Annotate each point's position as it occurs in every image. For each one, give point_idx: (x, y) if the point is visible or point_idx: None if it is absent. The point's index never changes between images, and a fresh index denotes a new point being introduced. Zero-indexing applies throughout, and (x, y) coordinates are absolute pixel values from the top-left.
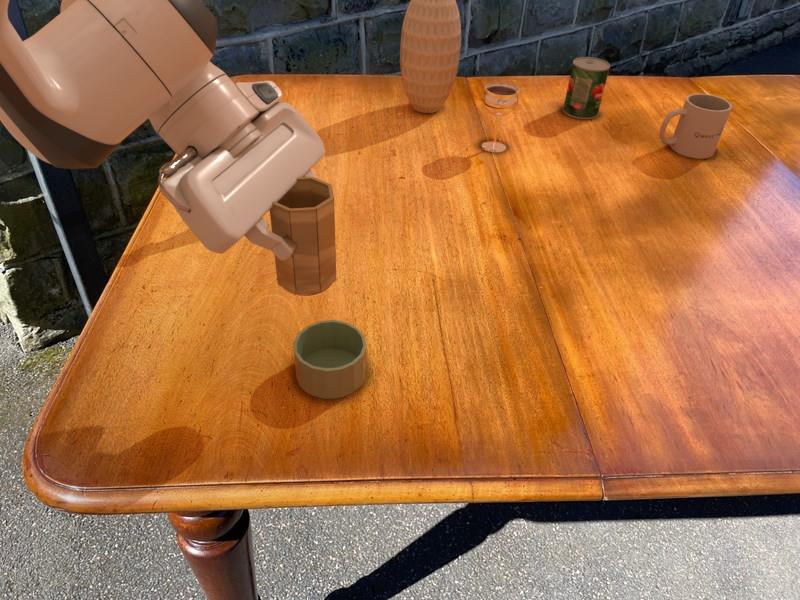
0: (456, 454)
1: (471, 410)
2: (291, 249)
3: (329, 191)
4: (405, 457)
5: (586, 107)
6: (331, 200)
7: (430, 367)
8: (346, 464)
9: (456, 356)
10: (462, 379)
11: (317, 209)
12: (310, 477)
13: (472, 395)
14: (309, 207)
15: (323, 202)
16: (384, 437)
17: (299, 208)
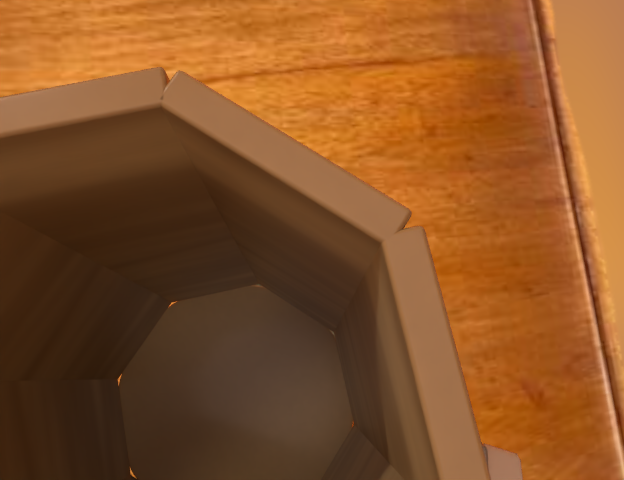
0: (490, 62)
1: (374, 31)
2: (492, 455)
3: (35, 123)
4: (512, 157)
5: None
6: (211, 89)
7: (255, 111)
8: (548, 274)
9: (217, 55)
10: (288, 45)
11: (404, 211)
12: (592, 346)
13: (333, 27)
14: (398, 298)
15: (273, 159)
16: (467, 201)
17: (436, 415)
